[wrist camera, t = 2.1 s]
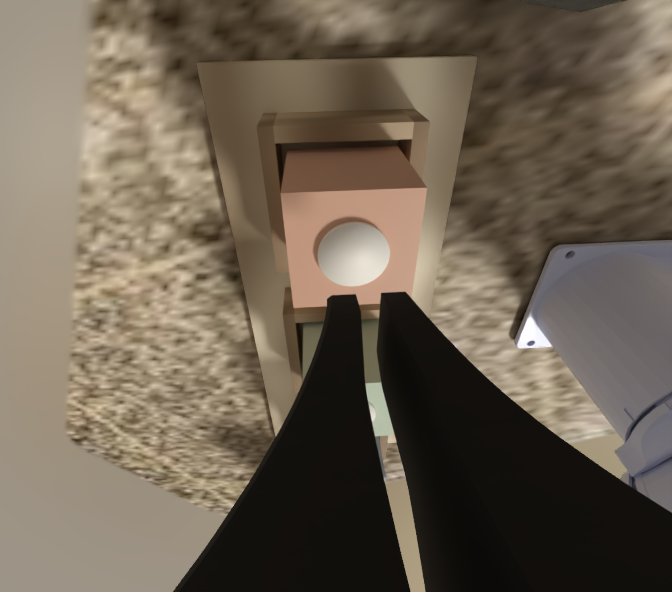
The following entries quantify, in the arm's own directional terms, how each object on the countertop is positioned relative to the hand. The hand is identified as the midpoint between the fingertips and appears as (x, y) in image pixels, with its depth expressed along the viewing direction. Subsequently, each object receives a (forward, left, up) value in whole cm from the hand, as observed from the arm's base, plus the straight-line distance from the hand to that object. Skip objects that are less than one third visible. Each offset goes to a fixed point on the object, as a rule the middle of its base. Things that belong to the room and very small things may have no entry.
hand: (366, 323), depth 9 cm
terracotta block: (0, 0, -8) cm, 8 cm away
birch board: (0, +9, -10) cm, 14 cm away
